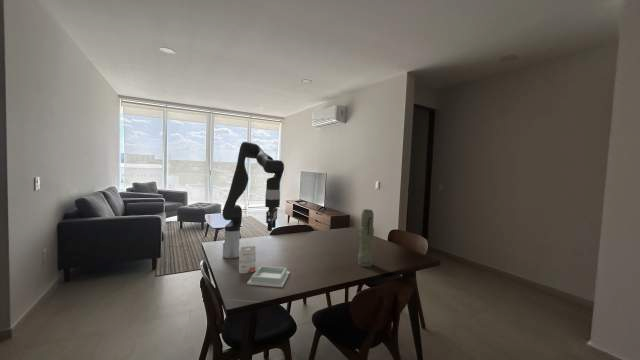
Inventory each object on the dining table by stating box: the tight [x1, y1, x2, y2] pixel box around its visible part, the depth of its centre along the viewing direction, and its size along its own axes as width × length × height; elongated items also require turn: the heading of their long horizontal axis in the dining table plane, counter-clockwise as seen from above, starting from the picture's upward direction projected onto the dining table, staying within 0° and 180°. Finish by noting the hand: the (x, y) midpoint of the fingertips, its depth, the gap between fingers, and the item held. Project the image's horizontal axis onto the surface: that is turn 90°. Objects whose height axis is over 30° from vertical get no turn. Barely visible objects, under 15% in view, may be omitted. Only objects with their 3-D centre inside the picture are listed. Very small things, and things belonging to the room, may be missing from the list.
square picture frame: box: [246, 265, 291, 288], centre depth 140 cm, size 18×18×4 cm
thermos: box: [357, 208, 375, 268], centre depth 167 cm, size 9×12×35 cm
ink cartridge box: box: [238, 245, 257, 274], centre depth 148 cm, size 9×5×15 cm, turn 113°
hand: (271, 229), depth 139 cm, fingers open, 6 cm apart
